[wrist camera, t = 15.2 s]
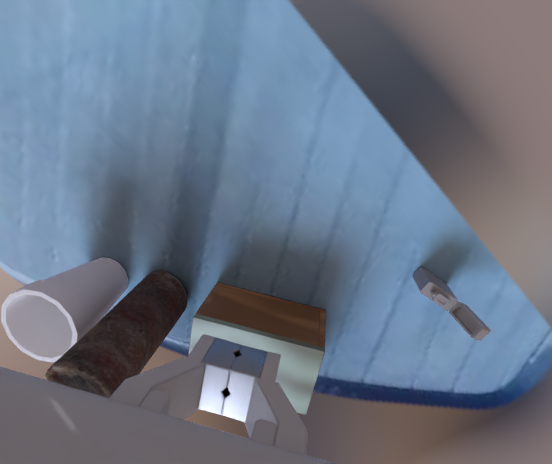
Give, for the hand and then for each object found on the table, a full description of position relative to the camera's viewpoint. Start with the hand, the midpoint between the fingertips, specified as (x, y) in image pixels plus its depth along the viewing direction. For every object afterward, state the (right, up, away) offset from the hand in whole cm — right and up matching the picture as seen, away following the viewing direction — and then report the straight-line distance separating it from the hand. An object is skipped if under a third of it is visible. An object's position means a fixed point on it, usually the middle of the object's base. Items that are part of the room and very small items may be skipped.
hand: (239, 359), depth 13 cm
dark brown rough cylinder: (-15, -4, +38) cm, 41 cm away
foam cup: (-23, -2, +39) cm, 45 cm away
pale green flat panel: (-2, -11, +29) cm, 31 cm away
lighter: (+22, -2, +32) cm, 39 cm away
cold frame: (0, -8, +37) cm, 38 cm away
